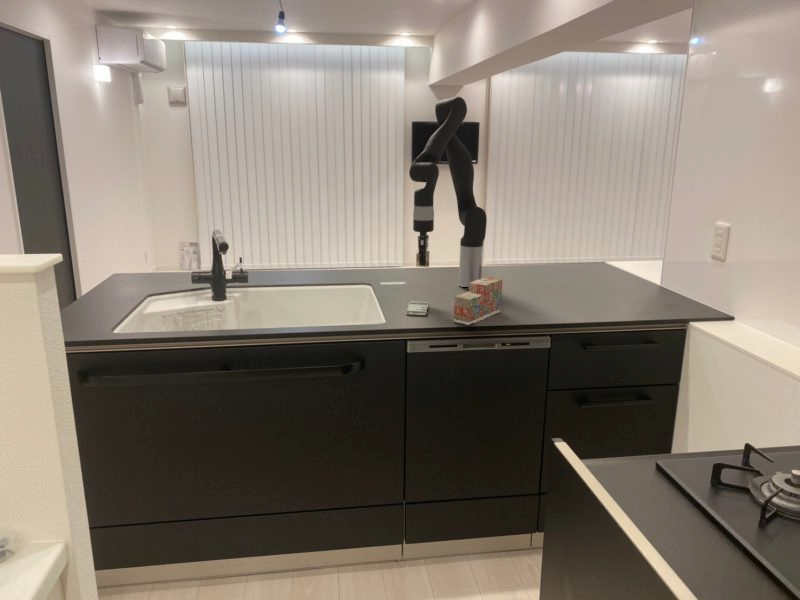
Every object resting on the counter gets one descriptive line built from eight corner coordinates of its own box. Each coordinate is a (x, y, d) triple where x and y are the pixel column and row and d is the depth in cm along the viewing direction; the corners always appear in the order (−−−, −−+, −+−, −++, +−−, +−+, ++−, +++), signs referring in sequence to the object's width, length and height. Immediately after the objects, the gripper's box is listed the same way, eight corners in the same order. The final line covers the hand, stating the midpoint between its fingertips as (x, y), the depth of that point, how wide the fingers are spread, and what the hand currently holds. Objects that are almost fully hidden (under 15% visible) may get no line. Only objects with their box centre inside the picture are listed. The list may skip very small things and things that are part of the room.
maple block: (429, 264, 223) (429, 251, 221) (428, 266, 218) (428, 253, 217) (417, 263, 223) (417, 250, 222) (416, 266, 219) (416, 253, 217)
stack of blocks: (469, 326, 194) (471, 290, 190) (453, 323, 197) (454, 287, 194) (500, 312, 210) (502, 278, 207) (485, 309, 214) (487, 276, 210)
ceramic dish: (428, 306, 216) (428, 302, 215) (426, 315, 204) (426, 311, 204) (409, 305, 216) (409, 301, 216) (406, 314, 205) (406, 310, 204)
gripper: (432, 221, 209) (432, 268, 213) (434, 215, 223) (433, 260, 227) (411, 220, 209) (411, 267, 214) (414, 215, 223) (414, 259, 228)
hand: (422, 263), depth 221 cm, fingers closed on maple block, 4 cm apart
